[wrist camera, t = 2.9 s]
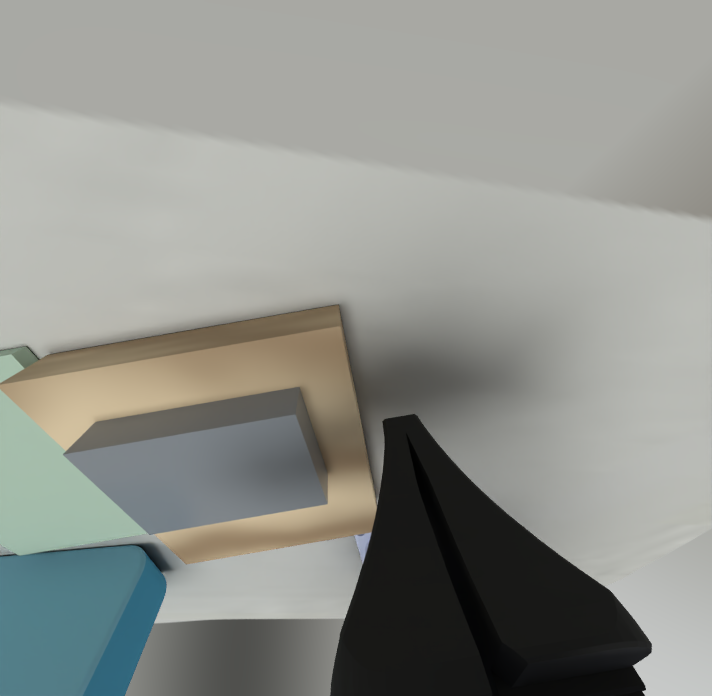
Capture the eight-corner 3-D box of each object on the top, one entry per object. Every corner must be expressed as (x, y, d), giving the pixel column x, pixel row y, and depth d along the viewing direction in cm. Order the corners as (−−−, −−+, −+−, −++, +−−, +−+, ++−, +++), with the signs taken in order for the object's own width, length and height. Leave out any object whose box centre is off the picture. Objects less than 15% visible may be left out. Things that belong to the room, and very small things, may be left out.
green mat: (181, 518, 17) (177, 528, 17) (28, 544, 17) (19, 555, 17) (26, 346, 11) (11, 354, 10) (-222, 389, 11) (-249, 399, 10)
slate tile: (328, 473, 13) (327, 504, 12) (167, 501, 13) (149, 535, 12) (299, 386, 10) (295, 414, 9) (95, 421, 10) (62, 454, 9)
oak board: (375, 498, 18) (380, 530, 16) (199, 528, 18) (186, 564, 16) (338, 304, 11) (340, 326, 9) (48, 354, 11) (-4, 385, 9)
